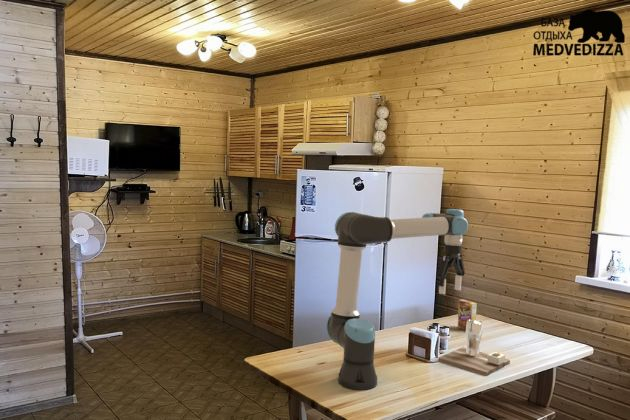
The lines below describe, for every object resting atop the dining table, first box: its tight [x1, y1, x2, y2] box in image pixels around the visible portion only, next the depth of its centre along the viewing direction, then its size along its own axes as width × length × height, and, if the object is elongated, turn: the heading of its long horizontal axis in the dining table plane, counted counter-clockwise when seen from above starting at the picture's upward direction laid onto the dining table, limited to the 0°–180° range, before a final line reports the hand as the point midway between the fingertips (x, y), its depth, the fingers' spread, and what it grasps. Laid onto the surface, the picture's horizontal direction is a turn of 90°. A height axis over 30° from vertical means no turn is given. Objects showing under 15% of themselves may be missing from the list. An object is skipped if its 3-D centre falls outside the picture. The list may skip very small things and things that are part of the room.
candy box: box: [457, 298, 478, 331], centre depth 282 cm, size 9×4×15 cm, turn 36°
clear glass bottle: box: [465, 319, 483, 357], centre depth 237 cm, size 7×7×15 cm
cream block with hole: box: [487, 351, 506, 365], centre depth 228 cm, size 6×5×3 cm
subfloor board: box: [437, 346, 511, 377], centre depth 232 cm, size 22×22×2 cm
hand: (450, 291), depth 234 cm, fingers open, 13 cm apart
